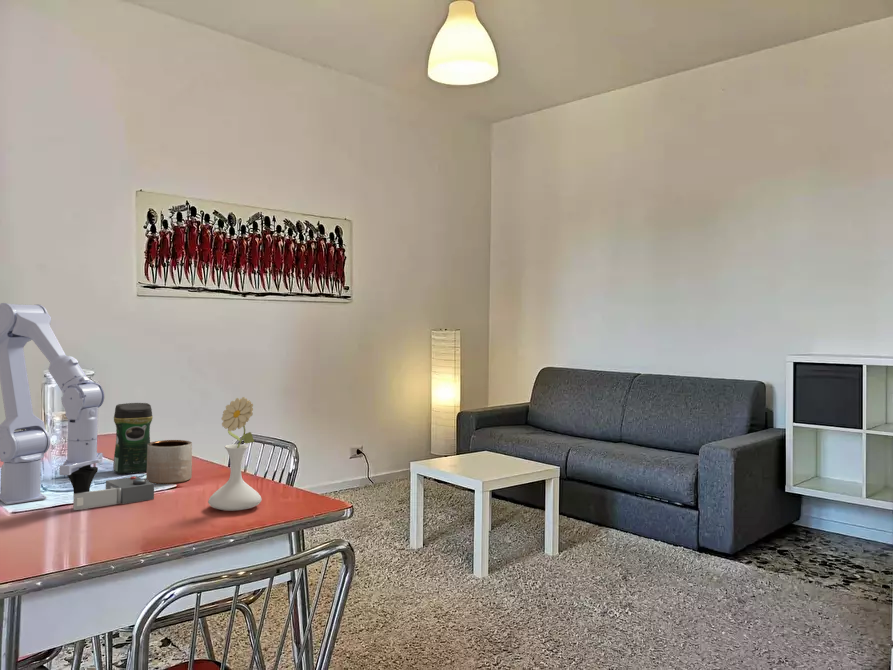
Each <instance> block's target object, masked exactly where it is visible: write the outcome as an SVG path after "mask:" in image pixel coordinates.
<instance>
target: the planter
mask: <svg viewBox="0 0 893 670" xmlns="http://www.w3.org/2000/svg"><path fill="white" fill-rule="evenodd" d="M192 476H193V442H192V441H189V440H183V439H165V440H163V439H162V440H157V441H156V440H155V441H150V443H148V447H147V471H146V481H148V482H151V483H153V484H154V483H156V484H155V485H175V484H176V485H177V484H181V483H182V484H183V483H185V482H188V481H189V480H190V479H192Z"/></svg>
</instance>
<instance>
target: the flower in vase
mask: <svg viewBox="0 0 893 670" xmlns="http://www.w3.org/2000/svg"><path fill="white" fill-rule="evenodd" d="M253 407H254V404H253V403H252V401H250V400H249V399H248V398H246V397H245V396H242V397H241V398H238V397H236V398H235V400H231V401H230V404H226V406H225V409H224V410H223V412H222V417H221V421H222V423H221V426H222V428H223V427H224V429H227V433H228V435H230V436H231V437H232V438H234V439H236V440H237V441H239V442H238V443H236V444H235V443H233V444H227V445H225V446H224V449H226V451H227V453H228V455H229V462H230V476H229V479H228V480H227V481H226V483H224V484H223V485H222V486H221V487H220V488H218V489H217V490H216V491H214V493H213V494H212V495H211V496H209V499H208V501H207V503H208V504H209V506H210V507H211V508H214V509H215V510H218V511H219V510H220V511H233V512H235V511H243V510H244V511H245V510H248V509H253V508H254V507H256V506H258V505H259V504H261V502H262V500H263V499H262V497H261V495H260V493H259V492H258V491H257V490H255V489H254V488H253V487H252V486H250V485H249V484H248V483H247V482H245V481H244V479H243V477H242V464H243V463H242V461H243V457H244V454H245V452H246V450H248V447H249V445H248V444H251V443H255V439H254V437H253V436H254V435H253V434H252V433H253V432H251V431H249V432H247V433H246V427H245V426H246V424H247V422H249V421H250V418H251V417H252V416H253V411H254V408H253ZM242 428H243V434H242V436H241V438H240V436H238V435H237V434H235V433H233V432H232V431H236V430H237V429H238V430H240V429H242ZM242 441H243V444H241V443H242Z"/></svg>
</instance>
